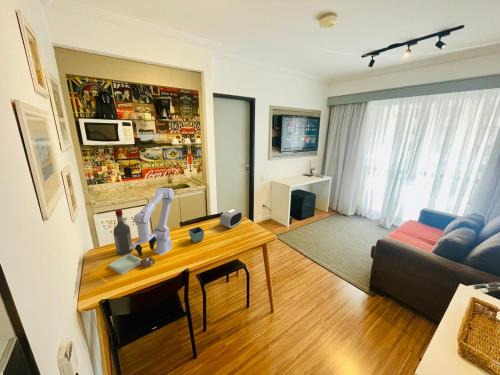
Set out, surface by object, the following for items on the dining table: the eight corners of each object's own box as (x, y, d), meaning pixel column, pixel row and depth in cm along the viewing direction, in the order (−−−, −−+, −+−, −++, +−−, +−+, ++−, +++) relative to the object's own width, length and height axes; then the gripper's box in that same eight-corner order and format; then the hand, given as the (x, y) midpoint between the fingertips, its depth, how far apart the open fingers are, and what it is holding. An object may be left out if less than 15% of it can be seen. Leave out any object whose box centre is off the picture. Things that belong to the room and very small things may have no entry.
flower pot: (194, 245, 148) (193, 234, 145) (188, 240, 154) (188, 229, 152) (204, 241, 153) (204, 230, 151) (199, 236, 160) (198, 226, 157)
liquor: (117, 256, 132) (109, 214, 124) (117, 249, 139) (110, 209, 131) (133, 252, 137) (127, 211, 128) (132, 246, 144) (126, 206, 136)
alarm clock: (228, 230, 170) (228, 216, 166) (220, 227, 175) (219, 213, 171) (242, 222, 187) (243, 208, 183) (234, 219, 192) (234, 206, 188)
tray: (130, 257, 132) (129, 253, 132) (142, 263, 127) (142, 259, 126) (109, 268, 122) (108, 264, 121) (122, 275, 116) (121, 271, 115)
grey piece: (148, 261, 129) (148, 255, 128) (154, 264, 127) (153, 257, 125) (141, 265, 125) (140, 259, 123) (146, 268, 122) (146, 262, 121)
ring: (148, 260, 129) (148, 256, 128) (155, 263, 126) (155, 259, 125) (140, 265, 124) (140, 261, 123) (147, 268, 122) (147, 264, 121)
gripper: (150, 225, 127) (152, 244, 131) (127, 235, 115) (130, 256, 119) (157, 228, 124) (159, 247, 128) (135, 239, 112) (138, 260, 115)
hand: (146, 252), depth 123 cm, fingers open, 7 cm apart
